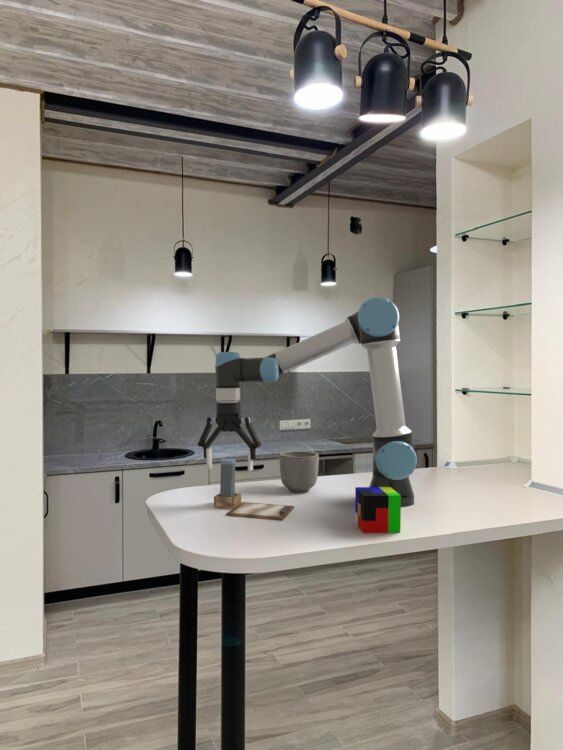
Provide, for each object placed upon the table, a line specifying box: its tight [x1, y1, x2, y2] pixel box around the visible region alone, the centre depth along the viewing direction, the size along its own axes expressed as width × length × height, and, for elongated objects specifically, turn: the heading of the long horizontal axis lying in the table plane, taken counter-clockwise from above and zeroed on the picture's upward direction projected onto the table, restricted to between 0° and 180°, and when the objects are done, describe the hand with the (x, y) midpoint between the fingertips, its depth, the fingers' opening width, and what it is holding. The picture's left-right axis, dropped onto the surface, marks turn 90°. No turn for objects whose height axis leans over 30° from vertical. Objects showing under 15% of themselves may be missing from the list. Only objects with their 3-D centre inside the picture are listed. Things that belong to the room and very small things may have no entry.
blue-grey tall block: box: [219, 458, 236, 497], centre depth 171 cm, size 4×4×14 cm
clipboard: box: [225, 501, 295, 521], centre depth 165 cm, size 17×14×1 cm
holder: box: [213, 492, 242, 510], centre depth 171 cm, size 7×7×3 cm
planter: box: [278, 450, 320, 494], centre depth 192 cm, size 14×14×13 cm
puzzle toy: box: [354, 486, 402, 534], centre depth 150 cm, size 10×10×10 cm
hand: (229, 469), depth 171 cm, fingers open, 13 cm apart
